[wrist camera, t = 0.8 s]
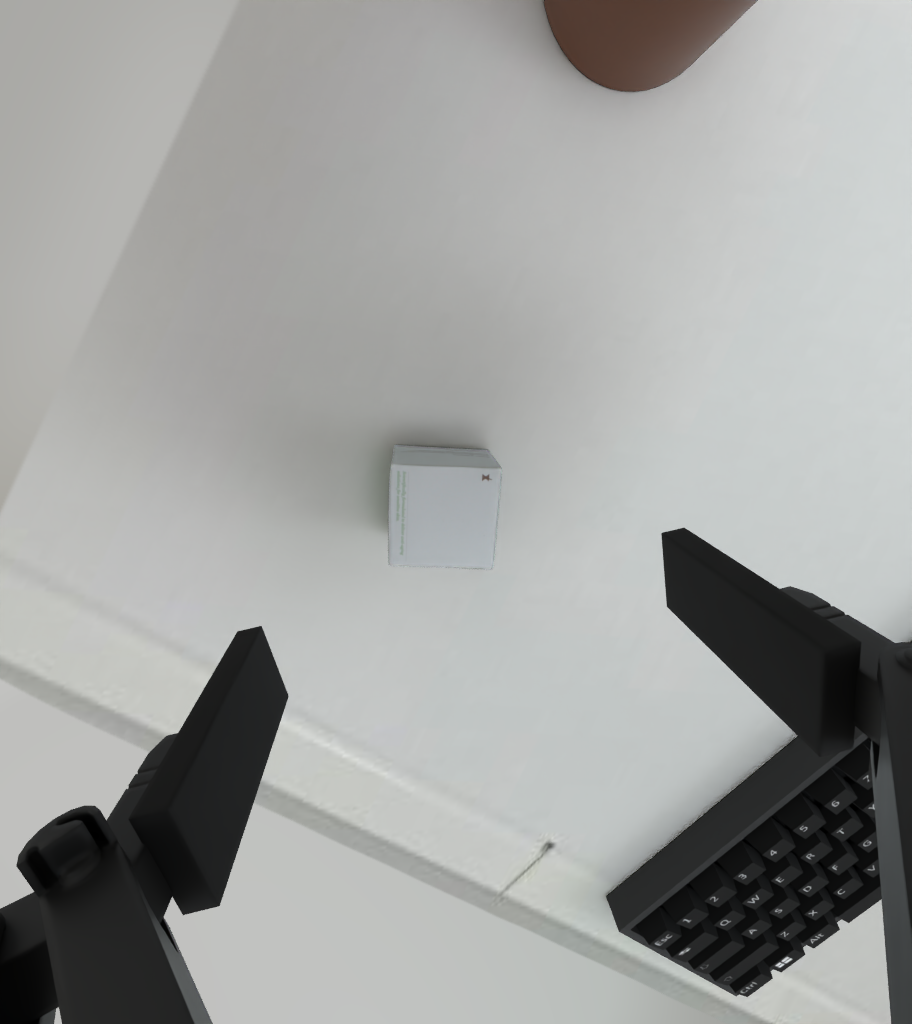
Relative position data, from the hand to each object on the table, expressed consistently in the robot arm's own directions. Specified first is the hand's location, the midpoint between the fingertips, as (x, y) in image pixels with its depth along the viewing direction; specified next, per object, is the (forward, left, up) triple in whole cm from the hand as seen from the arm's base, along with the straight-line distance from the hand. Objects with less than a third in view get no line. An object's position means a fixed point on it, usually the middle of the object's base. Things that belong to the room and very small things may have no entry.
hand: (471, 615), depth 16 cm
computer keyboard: (+31, +29, -15) cm, 45 cm away
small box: (0, 0, -15) cm, 15 cm away
